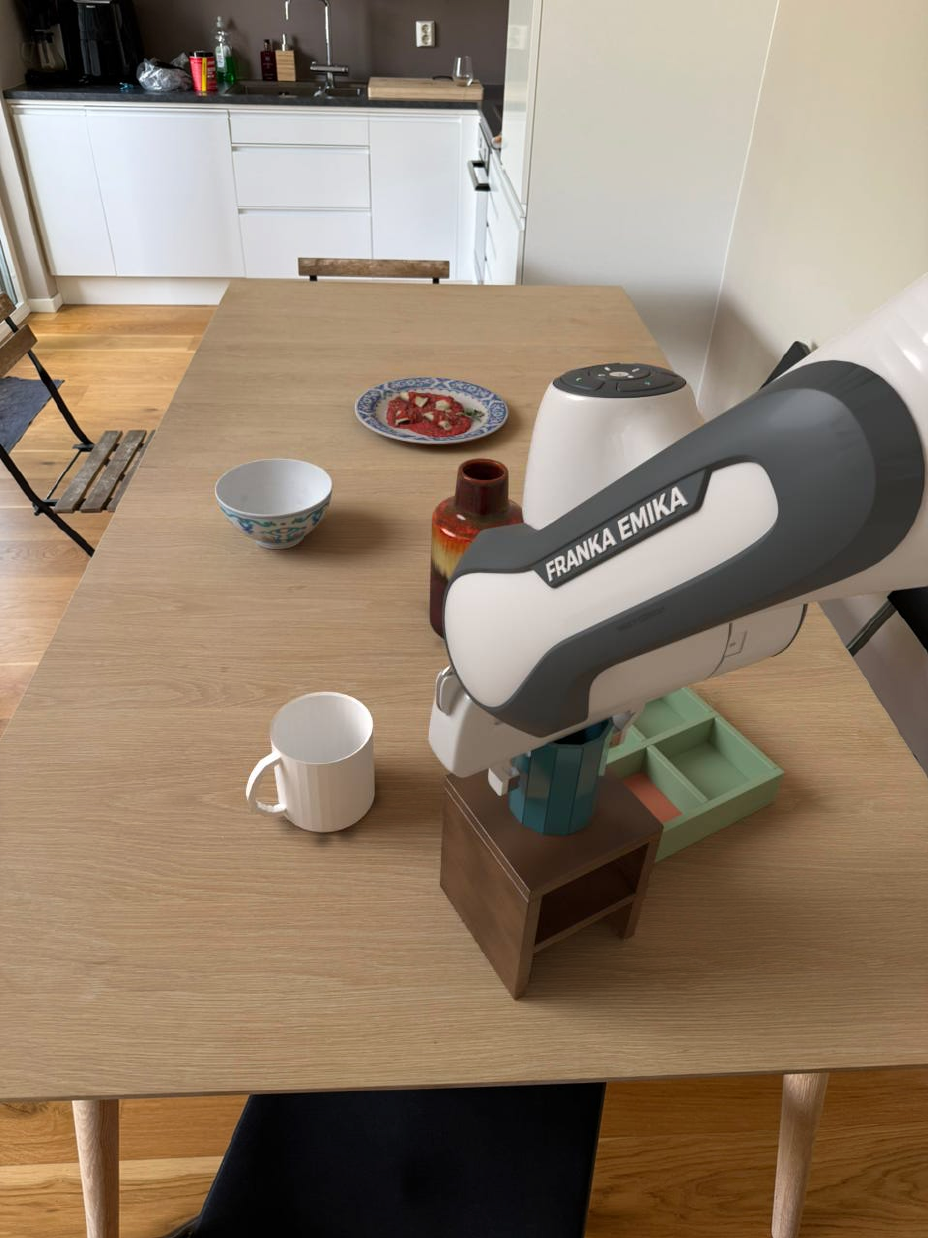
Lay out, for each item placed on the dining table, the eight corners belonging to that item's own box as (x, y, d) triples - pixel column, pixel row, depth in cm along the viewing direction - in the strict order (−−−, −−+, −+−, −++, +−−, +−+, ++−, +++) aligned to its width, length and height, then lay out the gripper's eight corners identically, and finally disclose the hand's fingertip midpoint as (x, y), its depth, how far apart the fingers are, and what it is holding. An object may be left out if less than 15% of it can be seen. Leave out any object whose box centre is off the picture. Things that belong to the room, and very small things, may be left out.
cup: (613, 814, 66) (632, 728, 61) (540, 848, 64) (553, 761, 58) (562, 757, 71) (575, 671, 65) (492, 786, 68) (500, 700, 63)
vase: (502, 588, 113) (515, 442, 100) (530, 641, 105) (548, 489, 92) (420, 599, 110) (422, 450, 98) (442, 654, 102) (447, 499, 89)
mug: (357, 751, 89) (353, 682, 84) (388, 817, 83) (387, 746, 77) (237, 785, 85) (226, 714, 80) (261, 857, 79) (249, 786, 73)
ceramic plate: (331, 439, 143) (330, 422, 141) (384, 380, 163) (384, 364, 161) (486, 465, 138) (487, 448, 137) (521, 401, 158) (523, 385, 156)
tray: (773, 802, 86) (785, 772, 84) (624, 878, 79) (632, 848, 76) (651, 689, 99) (658, 659, 96) (512, 745, 91) (515, 715, 88)
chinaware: (324, 571, 114) (320, 519, 109) (208, 562, 114) (199, 510, 110) (343, 511, 126) (341, 462, 121) (238, 503, 126) (232, 454, 122)
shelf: (634, 934, 74) (664, 826, 66) (514, 1000, 69) (530, 892, 61) (552, 833, 82) (570, 724, 74) (439, 885, 77) (444, 775, 69)
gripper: (464, 694, 50) (455, 850, 58) (733, 596, 58) (690, 744, 67) (412, 631, 54) (410, 785, 63) (670, 549, 63) (637, 693, 71)
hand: (557, 763), depth 65 cm, fingers open, 8 cm apart
